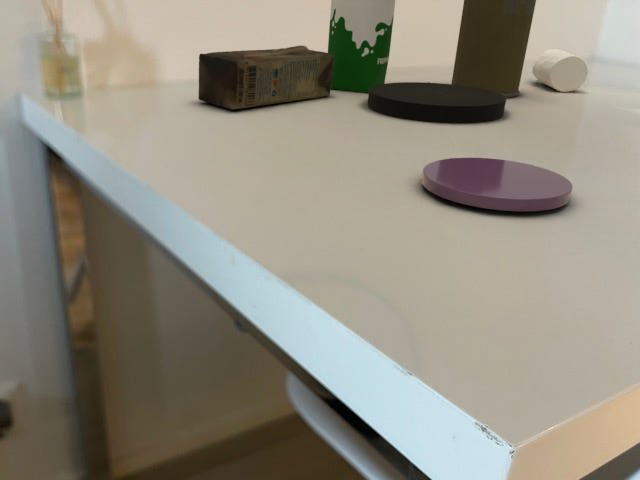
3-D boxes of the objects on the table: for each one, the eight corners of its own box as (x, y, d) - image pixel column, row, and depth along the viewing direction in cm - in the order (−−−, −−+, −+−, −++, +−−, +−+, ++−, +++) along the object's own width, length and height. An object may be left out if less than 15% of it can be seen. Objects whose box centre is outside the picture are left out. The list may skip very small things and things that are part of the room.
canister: (480, 99, 96) (507, -56, 87) (435, 87, 104) (455, -55, 96) (536, 96, 100) (567, -53, 91) (488, 84, 109) (512, -53, 100)
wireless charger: (394, 123, 80) (396, 106, 79) (350, 96, 96) (352, 82, 95) (530, 121, 83) (533, 105, 82) (465, 96, 98) (468, 82, 98)
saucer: (564, 181, 60) (568, 166, 59) (573, 225, 50) (578, 207, 49) (429, 166, 63) (431, 151, 63) (411, 203, 53) (414, 187, 52)
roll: (556, 80, 115) (564, 46, 112) (583, 92, 104) (592, 55, 102) (521, 79, 115) (528, 45, 112) (545, 91, 104) (553, 53, 102)
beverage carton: (334, 96, 95) (338, 48, 92) (234, 113, 83) (234, 58, 80) (294, 88, 100) (296, 42, 97) (194, 103, 88) (193, 51, 85)
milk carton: (376, 94, 98) (392, -59, 89) (318, 88, 101) (328, -60, 92) (391, 86, 105) (407, -56, 96) (336, 81, 108) (347, -57, 99)
